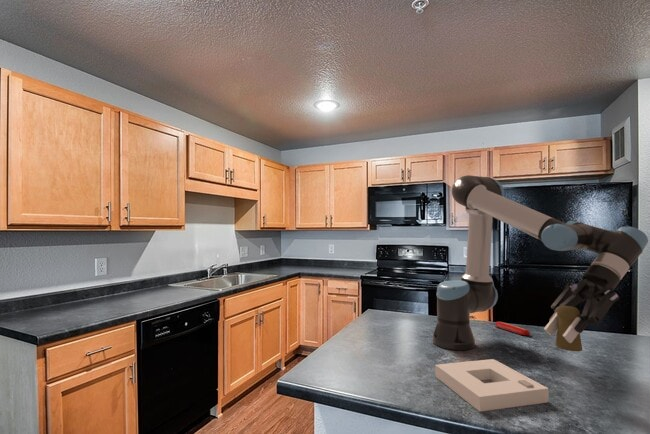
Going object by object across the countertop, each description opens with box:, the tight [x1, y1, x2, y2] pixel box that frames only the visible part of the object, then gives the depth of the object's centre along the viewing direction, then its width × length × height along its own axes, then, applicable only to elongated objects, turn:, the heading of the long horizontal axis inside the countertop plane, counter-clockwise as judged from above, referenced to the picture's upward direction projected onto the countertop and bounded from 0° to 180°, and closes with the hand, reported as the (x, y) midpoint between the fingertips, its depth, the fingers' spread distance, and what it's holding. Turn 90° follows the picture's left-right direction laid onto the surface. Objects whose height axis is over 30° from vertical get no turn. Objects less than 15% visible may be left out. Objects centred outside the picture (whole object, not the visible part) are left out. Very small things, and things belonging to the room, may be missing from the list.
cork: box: [554, 306, 583, 352], centre depth 93 cm, size 6×6×11 cm
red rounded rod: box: [494, 321, 532, 337], centre depth 147 cm, size 16×4×3 cm, turn 23°
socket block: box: [434, 358, 550, 413], centre depth 95 cm, size 20×20×4 cm
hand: (557, 335), depth 92 cm, fingers closed on cork, 5 cm apart
